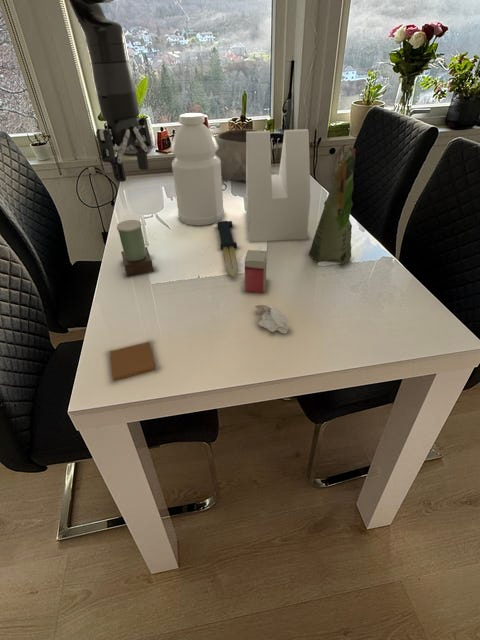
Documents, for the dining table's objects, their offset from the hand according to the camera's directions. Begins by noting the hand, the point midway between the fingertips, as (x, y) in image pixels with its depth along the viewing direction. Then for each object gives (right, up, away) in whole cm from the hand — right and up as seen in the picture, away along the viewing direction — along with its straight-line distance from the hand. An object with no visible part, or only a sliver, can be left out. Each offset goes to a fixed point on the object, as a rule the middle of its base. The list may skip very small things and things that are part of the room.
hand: (132, 175), depth 83 cm
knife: (+21, -14, +15) cm, 29 cm away
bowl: (+25, +24, +63) cm, 71 cm away
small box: (+27, -25, +1) cm, 37 cm away
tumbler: (-1, -17, +8) cm, 18 cm away
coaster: (+5, -40, -17) cm, 43 cm away
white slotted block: (+34, -5, +26) cm, 43 cm away
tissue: (+30, -33, -9) cm, 45 cm away
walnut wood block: (-1, -19, +9) cm, 21 cm away
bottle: (+12, -1, +33) cm, 35 cm away
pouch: (+46, -17, +10) cm, 50 cm away
